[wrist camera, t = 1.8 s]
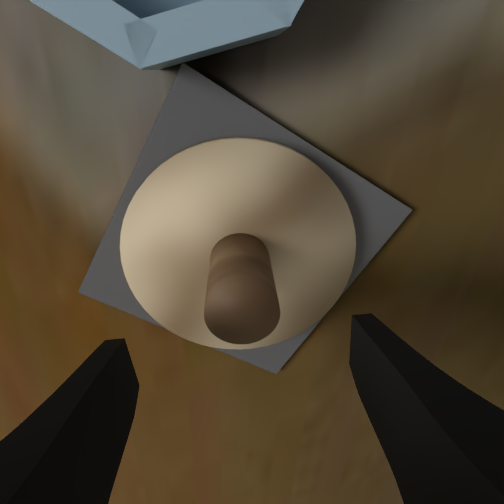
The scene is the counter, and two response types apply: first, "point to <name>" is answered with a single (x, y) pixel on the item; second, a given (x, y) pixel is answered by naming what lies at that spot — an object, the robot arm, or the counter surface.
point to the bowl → (173, 26)
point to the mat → (229, 125)
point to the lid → (237, 243)
